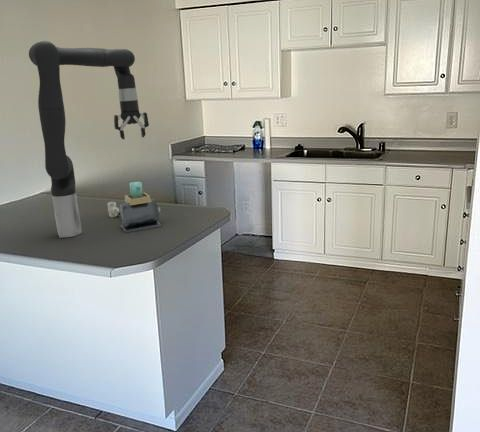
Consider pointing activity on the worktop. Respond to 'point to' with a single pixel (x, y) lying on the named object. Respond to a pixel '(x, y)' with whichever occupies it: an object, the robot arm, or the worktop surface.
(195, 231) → the worktop surface
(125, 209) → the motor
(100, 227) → the worktop surface
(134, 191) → the mint green rounded block
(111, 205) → the valve
